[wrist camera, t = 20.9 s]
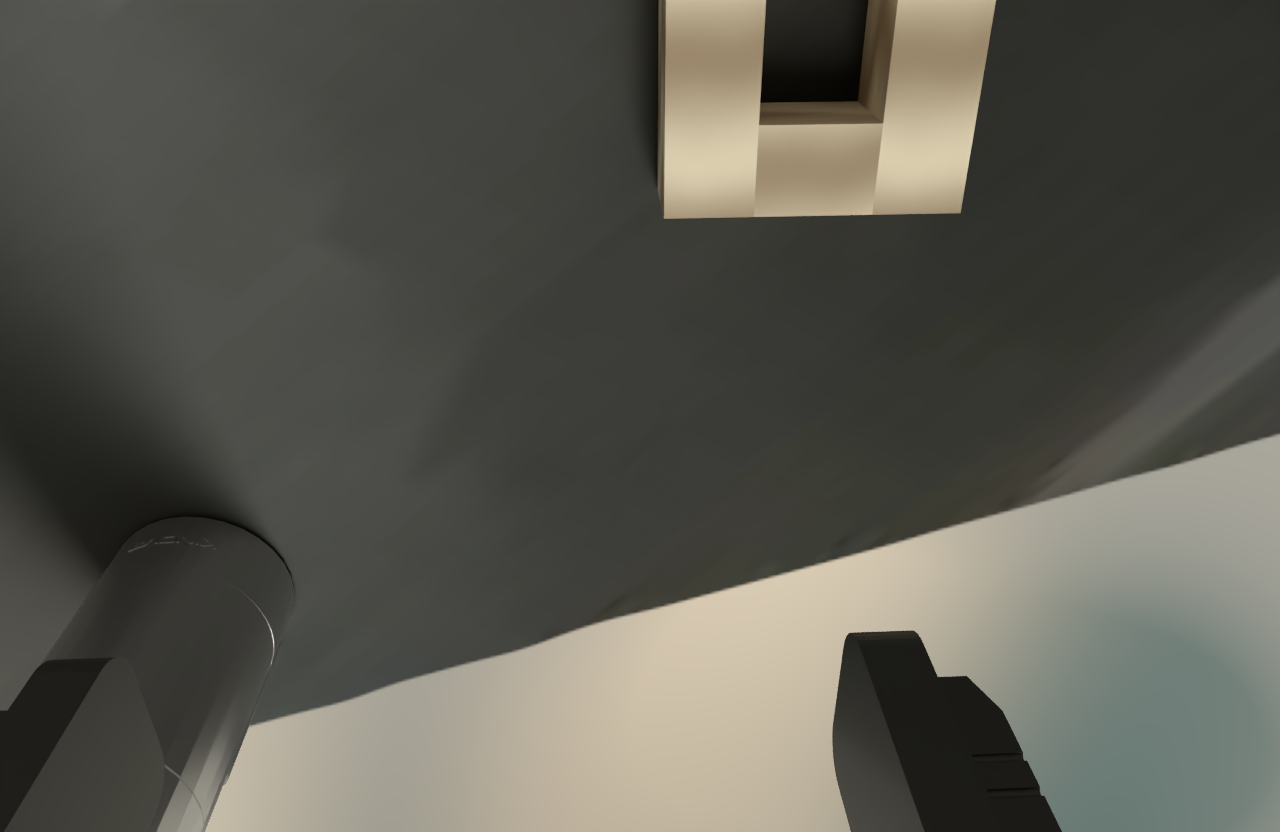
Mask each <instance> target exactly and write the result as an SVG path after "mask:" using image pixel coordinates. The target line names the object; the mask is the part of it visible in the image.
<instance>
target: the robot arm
mask: <svg viewBox="0 0 1280 832" xmlns="http://www.w3.org/2000/svg"><path fill="white" fill-rule="evenodd" d="M293 606H294V587H293V583H292V578H291V576H290V574H289V572H288V570H287V568H286V566H285V564H284V563H283V561H282V560H281V559H280V558H279V556H278V555H277V554H276V553H275V552H274V550H272V549H271V548H270V547H269V546H268V545H267V544H265V543H264V542H263V541H262V540H261V539H259V538H258V537H256V536H254V535H252V534H251V533H249V532H247V531H246V530H244V529H242V528H239V527H237V526H234V525H231V524H229V523H226V522H223V521H218V520H214V519H209V518H204V517H177V518H168V519H164V520H161V521H158V522H154V523H151V524H149V525H147V526H145V527H143V528H142V529H140V530H138V531H137V532H135V533H134V534H133V535H132V536H131V537H130V538H129V539H128V540H127V541H126V542H125V543H124V544H123V546H122V547H121V548H120V550H119V551H118V553H117V554H116V556H115V557H114V559H113V560H112V562H111V563H110V565H109V566H108V568H107V569H106V570H105V572H104V573H103V575H102V576H101V578H100V579H99V581H98V582H97V584H96V585H95V587H94V588H93V590H92V591H91V592H90V593H89V595H88V596H87V598H86V599H85V601H84V602H83V604H82V605H81V607H80V608H79V609H78V611H77V612H76V614H75V615H74V617H73V618H72V620H71V621H70V623H69V624H68V626H67V627H66V629H65V630H64V631H63V633H62V634H61V636H60V637H59V639H58V640H57V642H56V643H55V645H54V646H53V648H52V649H51V651H50V652H49V653H48V655H47V656H46V658H45V659H44V661H43V662H42V664H41V665H40V666H39V667H38V668H37V669H36V670H35V672H34V673H33V674H32V676H31V677H30V679H29V680H28V682H27V683H26V685H25V686H24V687H23V689H22V690H21V692H20V693H19V695H18V696H17V698H16V699H15V701H14V702H13V703H12V705H11V706H10V708H9V709H8V710H7V711H0V832H204V831H205V829H206V827H207V824H208V822H209V819H210V817H211V814H212V812H213V809H214V807H215V804H216V802H217V799H218V796H219V794H220V791H221V789H222V786H223V785H224V784H226V782H227V780H228V778H229V776H230V773H231V771H232V768H233V766H234V763H235V760H236V758H237V755H238V753H239V750H240V748H241V745H242V742H243V740H244V738H245V735H246V732H247V730H248V727H249V725H250V722H251V720H252V717H253V715H254V712H255V710H256V707H257V704H258V702H259V699H260V697H261V694H262V692H263V689H264V687H265V684H266V681H267V679H268V676H269V674H270V671H271V669H272V666H273V664H274V661H275V659H276V656H277V653H278V651H279V648H280V640H281V638H282V635H283V633H284V630H285V627H286V625H287V622H288V620H289V617H290V614H291V612H292V609H293ZM833 757H834V765H835V772H836V777H837V781H838V785H839V789H840V793H841V796H842V800H843V804H844V808H845V811H846V815H847V818H848V822H849V826H850V830H851V832H1062V831H1061V829H1060V827H1059V825H1058V823H1057V821H1056V819H1055V817H1054V815H1053V813H1052V811H1051V809H1050V807H1049V805H1048V803H1047V800H1046V798H1045V796H1041V794H1040V786H1039V784H1038V782H1037V780H1036V778H1035V776H1034V774H1033V772H1032V770H1031V768H1030V766H1029V764H1028V762H1027V761H1024V759H1023V752H1022V750H1021V748H1020V745H1019V743H1018V741H1017V739H1016V737H1015V735H1014V733H1013V731H1012V729H1011V727H1010V725H1009V723H1008V721H1007V719H1006V717H1005V715H1004V713H1003V711H1002V710H1001V709H1000V708H999V707H998V706H997V705H996V704H995V703H994V702H993V701H992V700H991V699H990V698H989V697H988V696H986V694H985V693H984V692H983V691H981V690H980V689H979V688H978V687H977V686H976V685H975V684H974V683H973V682H972V681H971V680H970V679H969V678H968V677H967V676H956V677H937V674H936V672H935V670H934V667H933V665H932V663H931V660H930V658H929V656H928V653H927V651H926V649H925V647H924V644H923V642H922V640H921V638H920V637H919V635H918V634H917V633H916V632H915V631H890V632H861V633H849V634H848V635H847V637H846V639H845V643H844V649H843V656H842V663H841V670H840V678H839V685H838V692H837V700H836V707H835V715H834V722H833Z"/></svg>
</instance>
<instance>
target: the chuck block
mask: <svg viewBox="0 0 1280 832" xmlns="http://www.w3.org/2000/svg"><path fill="white" fill-rule="evenodd" d="M995 3H996V0H868V9H867V19H866V28H865V37H864V47H863V56H862V66H861V75H860V85H859V94H858V101H843V102H773V103H760V98H761V80H762V63H763V45H764V28H765V10H766V0H659V32H658V193H659V198H660V202H661V207H662V211H663V216H664V219H669V218H721V217H774V216H826V215H878V214H931V213H960V212H961V206H962V200H963V194H964V188H965V182H966V176H967V171H968V165H969V159H970V153H971V147H972V141H973V135H974V129H975V123H976V117H977V111H978V105H979V99H980V93H981V87H982V81H983V75H984V69H985V63H986V57H987V51H988V45H989V39H990V33H991V27H992V21H993V15H994V9H995Z"/></svg>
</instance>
